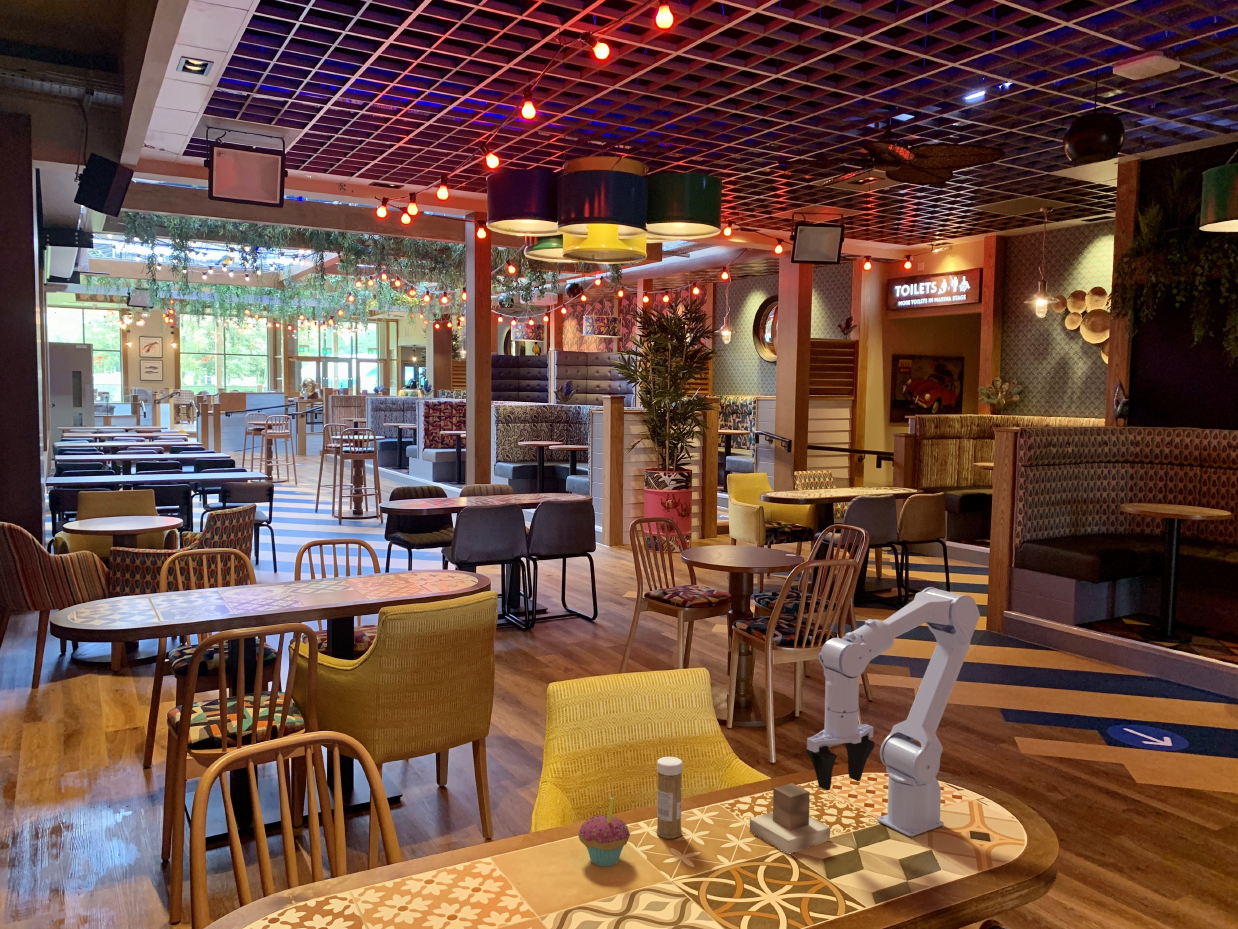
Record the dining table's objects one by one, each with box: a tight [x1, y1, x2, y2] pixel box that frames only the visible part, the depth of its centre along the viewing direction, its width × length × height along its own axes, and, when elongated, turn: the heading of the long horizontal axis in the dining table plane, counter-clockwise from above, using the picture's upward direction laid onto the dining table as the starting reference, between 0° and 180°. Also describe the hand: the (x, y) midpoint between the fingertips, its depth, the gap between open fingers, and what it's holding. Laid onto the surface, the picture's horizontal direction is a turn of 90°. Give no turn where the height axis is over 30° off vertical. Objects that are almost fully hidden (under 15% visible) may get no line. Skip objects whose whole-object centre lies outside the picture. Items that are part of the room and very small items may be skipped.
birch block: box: [749, 811, 831, 855], centre depth 162 cm, size 10×10×3 cm
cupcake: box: [578, 793, 631, 867], centre depth 152 cm, size 9×8×12 cm
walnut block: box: [772, 782, 811, 830], centre depth 162 cm, size 4×4×6 cm
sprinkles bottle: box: [656, 756, 684, 840], centre depth 162 cm, size 5×5×13 cm
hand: (839, 783), depth 160 cm, fingers open, 7 cm apart
